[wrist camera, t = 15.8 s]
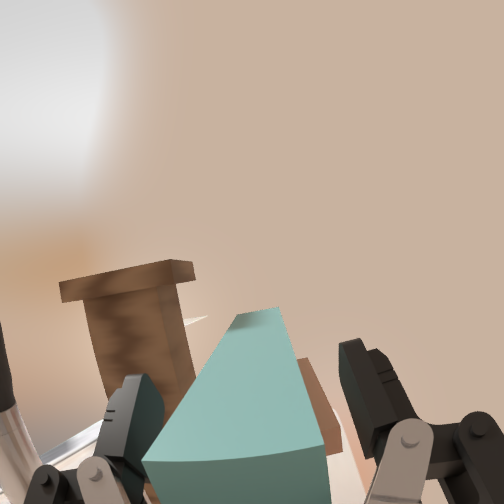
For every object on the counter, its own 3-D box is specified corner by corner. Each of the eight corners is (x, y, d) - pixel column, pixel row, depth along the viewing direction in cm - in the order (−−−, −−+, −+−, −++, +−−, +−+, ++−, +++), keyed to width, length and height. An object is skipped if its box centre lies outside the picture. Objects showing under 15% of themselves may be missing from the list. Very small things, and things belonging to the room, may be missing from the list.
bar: (191, 556, 5) (141, 461, 5) (245, 353, 29) (237, 314, 29) (335, 545, 5) (324, 443, 5) (285, 346, 29) (278, 306, 29)
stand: (149, 534, 23) (58, 282, 25) (165, 499, 31) (98, 280, 33) (246, 537, 23) (170, 259, 25) (249, 497, 31) (192, 261, 33)
